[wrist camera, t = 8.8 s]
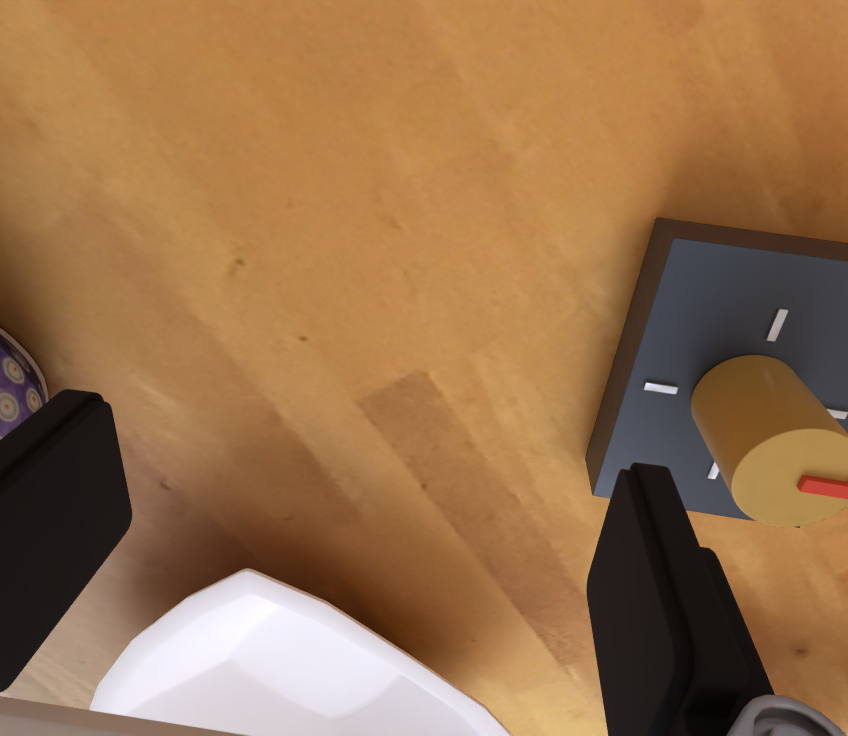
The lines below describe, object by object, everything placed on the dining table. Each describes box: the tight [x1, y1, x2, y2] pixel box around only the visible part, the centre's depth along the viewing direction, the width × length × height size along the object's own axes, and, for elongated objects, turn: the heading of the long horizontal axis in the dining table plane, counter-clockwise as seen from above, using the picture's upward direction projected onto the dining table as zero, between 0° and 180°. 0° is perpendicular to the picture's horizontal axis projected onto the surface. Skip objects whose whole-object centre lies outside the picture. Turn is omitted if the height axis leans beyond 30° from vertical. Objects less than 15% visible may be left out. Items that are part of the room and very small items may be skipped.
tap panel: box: [585, 218, 848, 528], centre depth 28 cm, size 13×10×3 cm
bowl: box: [89, 568, 513, 736], centre depth 40 cm, size 22×23×6 cm
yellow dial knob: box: [691, 355, 848, 527], centre depth 24 cm, size 4×4×6 cm
